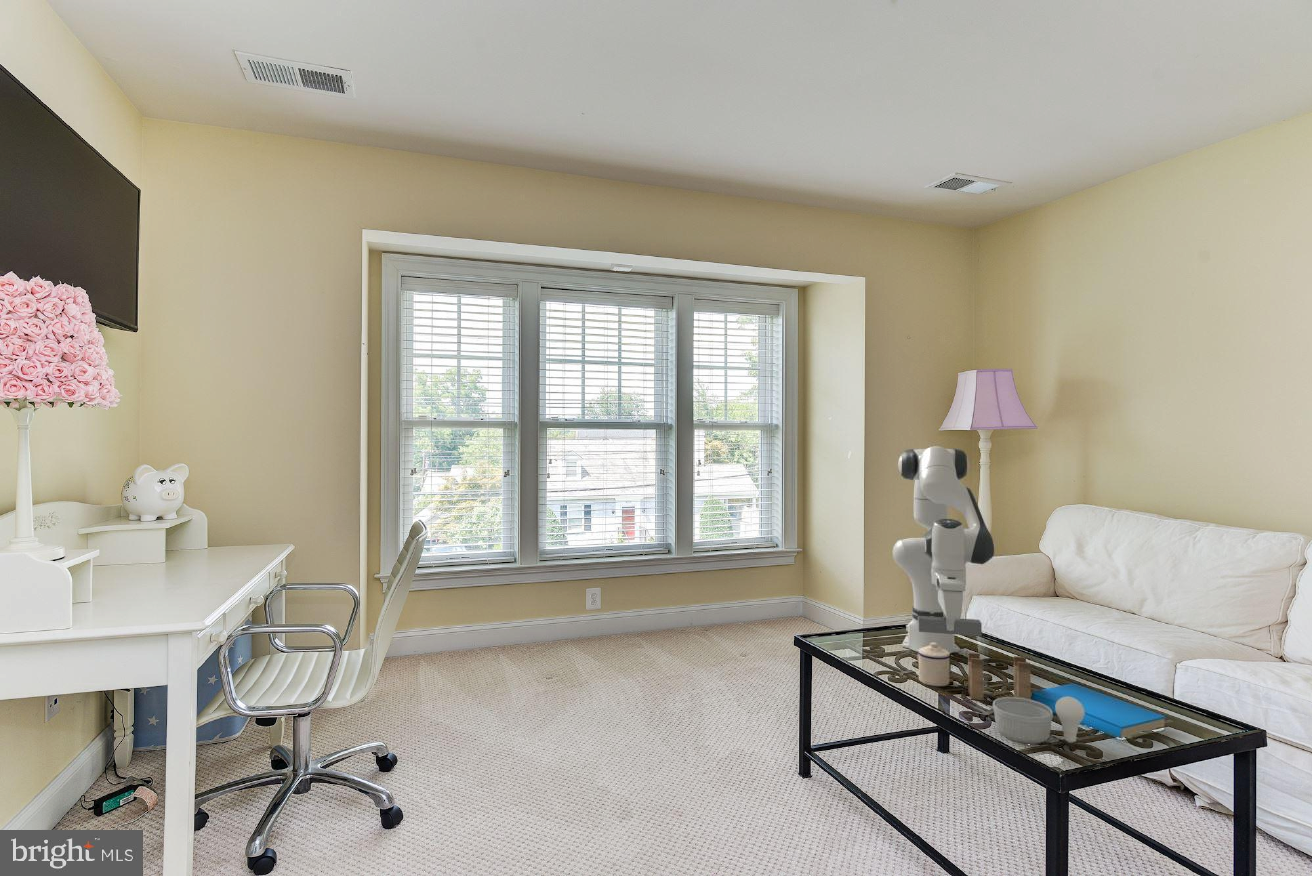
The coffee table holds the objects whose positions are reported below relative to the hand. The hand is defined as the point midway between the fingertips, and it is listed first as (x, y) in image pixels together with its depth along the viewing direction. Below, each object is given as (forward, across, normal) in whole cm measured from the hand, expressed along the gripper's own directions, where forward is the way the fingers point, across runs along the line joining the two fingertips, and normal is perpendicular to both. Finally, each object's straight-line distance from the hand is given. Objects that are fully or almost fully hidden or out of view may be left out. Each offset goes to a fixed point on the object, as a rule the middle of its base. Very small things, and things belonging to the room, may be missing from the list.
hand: (948, 627), depth 188 cm
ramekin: (+22, +16, +15) cm, 31 cm away
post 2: (+21, -8, +20) cm, 30 cm away
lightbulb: (+21, +18, +25) cm, 38 cm away
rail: (+1, 0, 0) cm, 1 cm away
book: (+22, -1, +36) cm, 42 cm away
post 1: (+21, -8, +8) cm, 24 cm away
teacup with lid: (+21, -18, -3) cm, 28 cm away
